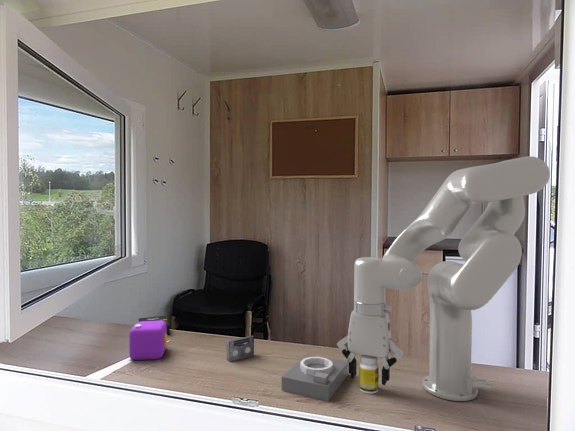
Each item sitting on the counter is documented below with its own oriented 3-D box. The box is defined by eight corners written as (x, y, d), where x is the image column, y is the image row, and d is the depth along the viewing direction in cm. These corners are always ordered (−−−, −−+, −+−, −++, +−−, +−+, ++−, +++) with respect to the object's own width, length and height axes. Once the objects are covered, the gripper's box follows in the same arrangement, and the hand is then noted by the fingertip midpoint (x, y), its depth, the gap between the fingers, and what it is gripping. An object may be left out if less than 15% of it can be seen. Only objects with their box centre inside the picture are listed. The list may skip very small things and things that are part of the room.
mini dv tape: (251, 354, 118) (251, 335, 118) (253, 356, 117) (254, 336, 117) (226, 360, 113) (226, 340, 113) (228, 362, 112) (228, 341, 112)
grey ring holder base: (348, 374, 104) (348, 356, 104) (328, 401, 90) (328, 380, 90) (306, 366, 109) (306, 348, 109) (281, 390, 95) (281, 370, 95)
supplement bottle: (378, 395, 93) (379, 360, 93) (358, 393, 94) (358, 358, 94) (378, 386, 98) (378, 353, 97) (359, 384, 98) (359, 351, 98)
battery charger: (138, 329, 143) (138, 318, 143) (165, 325, 147) (165, 315, 146) (140, 340, 131) (140, 328, 131) (169, 336, 135) (169, 325, 135)
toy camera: (167, 343, 127) (167, 313, 126) (168, 359, 114) (168, 325, 113) (131, 347, 123) (131, 316, 123) (128, 364, 110) (128, 329, 110)
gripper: (408, 308, 95) (407, 380, 95) (340, 300, 102) (339, 367, 103) (403, 316, 88) (402, 393, 88) (330, 307, 95) (330, 379, 96)
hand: (368, 379), depth 96 cm, fingers open, 7 cm apart
